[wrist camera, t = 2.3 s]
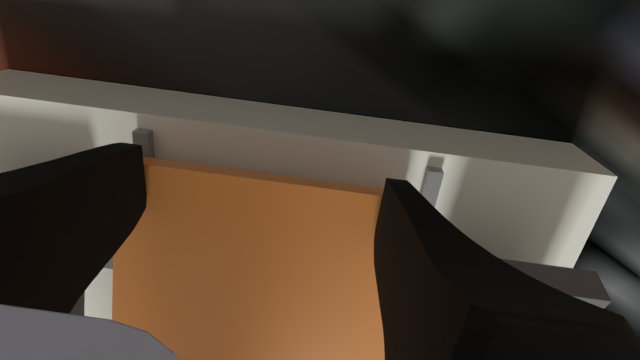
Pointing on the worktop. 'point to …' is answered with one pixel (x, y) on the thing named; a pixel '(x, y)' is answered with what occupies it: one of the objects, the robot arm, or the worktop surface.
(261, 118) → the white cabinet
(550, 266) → the grey flat block
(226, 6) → the worktop surface
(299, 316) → the orange slotted panel
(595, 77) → the worktop surface
